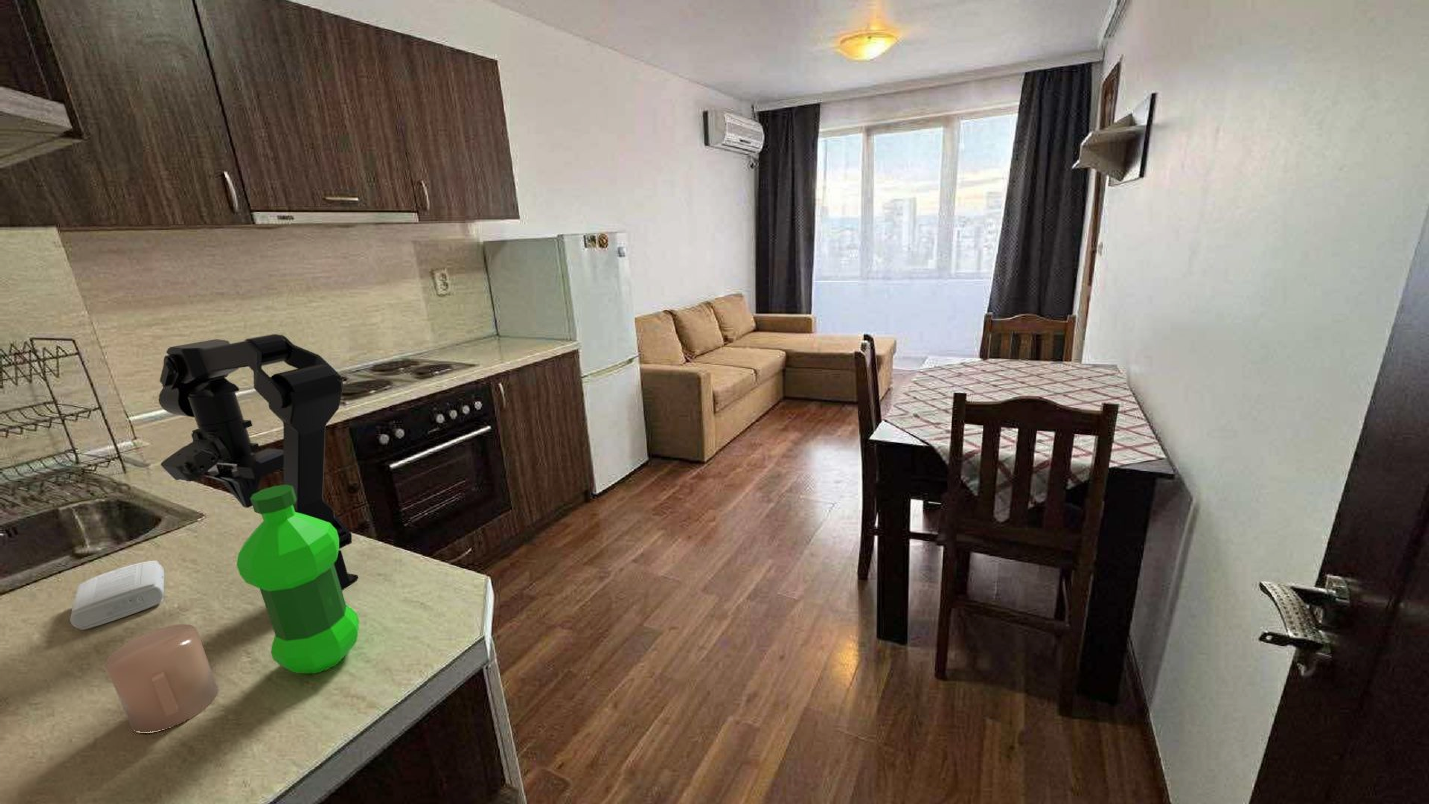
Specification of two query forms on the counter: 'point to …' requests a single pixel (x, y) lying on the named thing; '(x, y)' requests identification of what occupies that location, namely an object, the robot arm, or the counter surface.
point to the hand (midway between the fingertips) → (248, 506)
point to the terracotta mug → (162, 677)
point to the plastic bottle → (298, 583)
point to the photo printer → (118, 594)
